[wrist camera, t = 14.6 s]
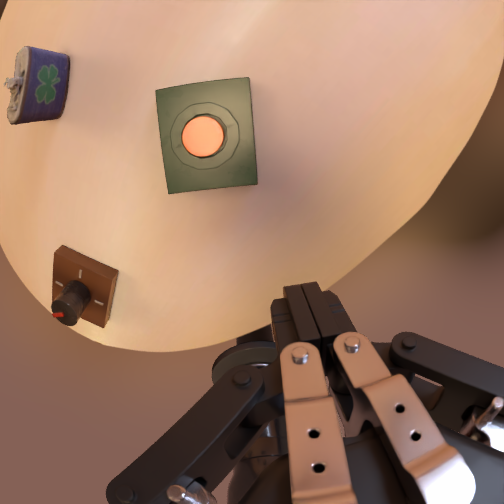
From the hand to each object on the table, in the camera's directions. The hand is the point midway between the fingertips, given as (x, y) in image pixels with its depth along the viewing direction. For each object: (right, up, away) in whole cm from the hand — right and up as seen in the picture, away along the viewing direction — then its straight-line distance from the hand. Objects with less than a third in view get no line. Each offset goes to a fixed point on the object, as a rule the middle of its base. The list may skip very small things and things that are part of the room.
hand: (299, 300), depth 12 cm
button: (-7, +14, +14) cm, 20 cm away
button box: (-7, +15, +17) cm, 24 cm away
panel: (-28, -3, +24) cm, 37 cm away
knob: (-27, -4, +22) cm, 36 cm away
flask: (-27, +24, +12) cm, 38 cm away
